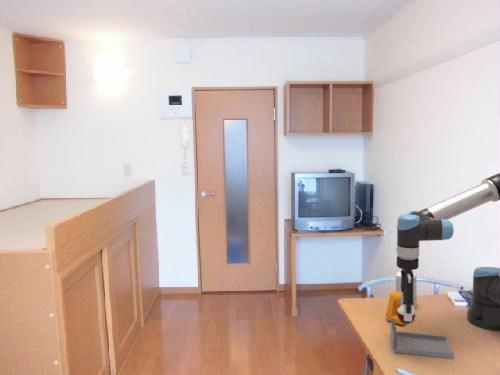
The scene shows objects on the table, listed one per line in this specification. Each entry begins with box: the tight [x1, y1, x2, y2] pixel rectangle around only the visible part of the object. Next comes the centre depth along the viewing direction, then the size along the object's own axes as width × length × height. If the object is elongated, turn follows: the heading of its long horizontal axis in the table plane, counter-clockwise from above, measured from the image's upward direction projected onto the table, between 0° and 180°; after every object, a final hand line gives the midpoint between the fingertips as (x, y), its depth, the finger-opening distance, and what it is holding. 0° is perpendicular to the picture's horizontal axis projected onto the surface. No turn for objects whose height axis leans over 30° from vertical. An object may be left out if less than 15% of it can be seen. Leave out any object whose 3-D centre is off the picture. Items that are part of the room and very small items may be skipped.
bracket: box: [385, 290, 407, 326], centre depth 167 cm, size 11×7×12 cm, turn 134°
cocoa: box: [397, 287, 416, 325], centre depth 146 cm, size 10×6×12 cm, turn 142°
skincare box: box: [395, 270, 418, 309], centre depth 179 cm, size 8×7×16 cm
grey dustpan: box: [390, 319, 455, 360], centre depth 146 cm, size 20×13×7 cm, turn 75°
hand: (406, 314), depth 146 cm, fingers closed on cocoa, 9 cm apart
